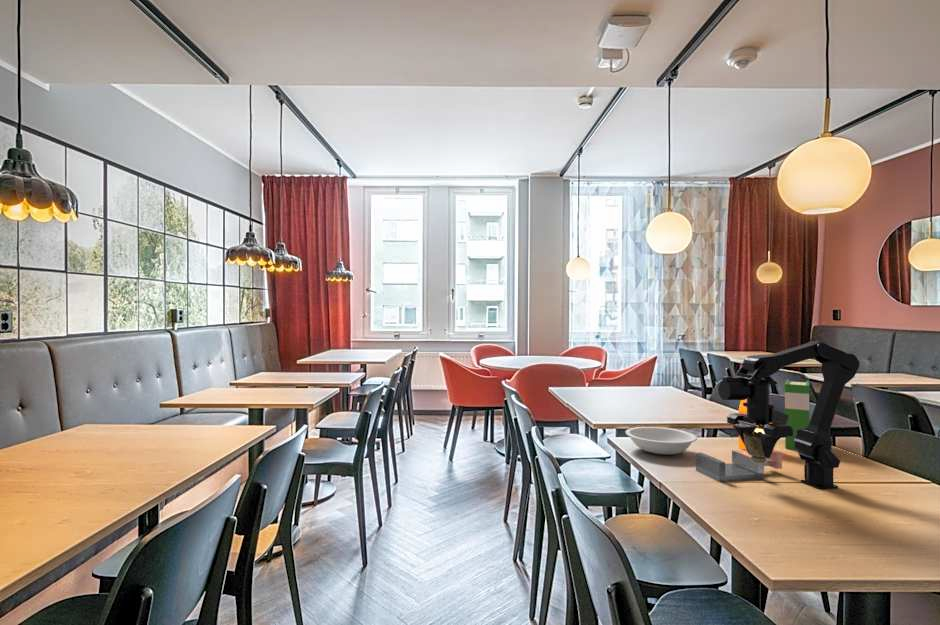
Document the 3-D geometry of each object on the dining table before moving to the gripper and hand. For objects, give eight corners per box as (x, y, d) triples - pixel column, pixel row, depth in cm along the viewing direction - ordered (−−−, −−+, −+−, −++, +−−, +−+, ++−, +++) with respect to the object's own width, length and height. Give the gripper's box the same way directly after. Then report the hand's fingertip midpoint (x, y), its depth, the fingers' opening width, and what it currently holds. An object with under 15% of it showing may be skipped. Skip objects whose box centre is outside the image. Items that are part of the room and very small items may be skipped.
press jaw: (790, 471, 145) (789, 455, 145) (758, 473, 143) (757, 456, 143) (762, 461, 156) (761, 445, 156) (732, 462, 154) (731, 447, 154)
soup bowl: (637, 461, 161) (637, 442, 161) (617, 443, 185) (617, 426, 185) (709, 462, 160) (709, 442, 160) (680, 444, 184) (680, 427, 184)
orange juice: (746, 445, 182) (746, 392, 183) (772, 450, 176) (772, 395, 176) (738, 448, 177) (737, 394, 178) (764, 454, 171) (764, 397, 171)
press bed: (764, 478, 144) (763, 460, 144) (719, 481, 141) (719, 462, 141) (737, 467, 154) (737, 450, 155) (695, 470, 152) (695, 452, 152)
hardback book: (787, 439, 192) (786, 379, 193) (809, 441, 188) (809, 380, 189) (785, 448, 178) (784, 384, 178) (809, 451, 174) (809, 385, 174)
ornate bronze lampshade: (765, 458, 141) (765, 431, 141) (779, 465, 133) (778, 437, 133) (738, 457, 141) (738, 430, 141) (750, 465, 134) (750, 436, 134)
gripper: (810, 404, 130) (811, 462, 129) (757, 394, 148) (758, 445, 148) (774, 406, 128) (775, 464, 128) (725, 395, 146) (726, 446, 146)
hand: (758, 454), depth 137 cm, fingers closed on ornate bronze lampshade, 6 cm apart
